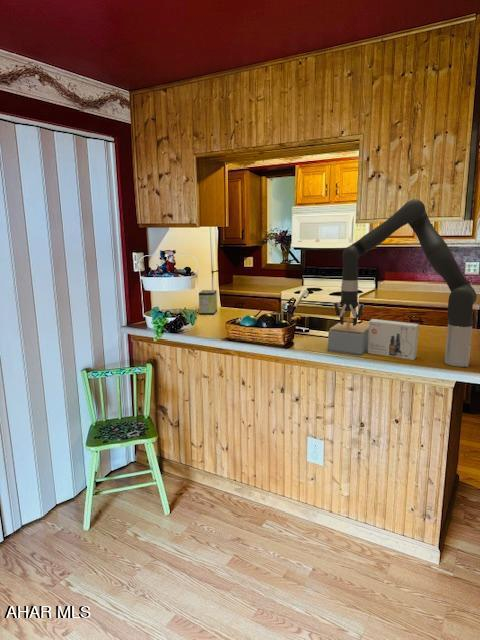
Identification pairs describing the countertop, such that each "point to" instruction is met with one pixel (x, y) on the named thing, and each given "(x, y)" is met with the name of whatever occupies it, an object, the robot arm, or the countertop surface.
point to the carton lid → (350, 326)
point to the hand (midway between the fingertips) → (348, 324)
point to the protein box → (207, 302)
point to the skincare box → (393, 338)
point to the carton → (348, 342)
